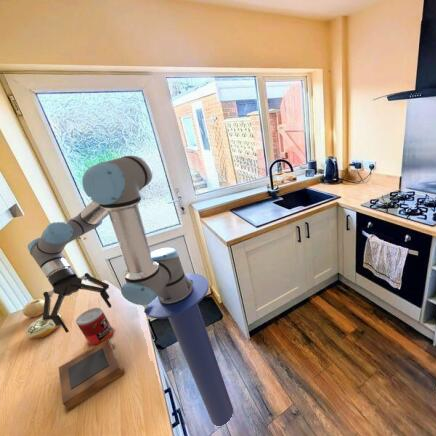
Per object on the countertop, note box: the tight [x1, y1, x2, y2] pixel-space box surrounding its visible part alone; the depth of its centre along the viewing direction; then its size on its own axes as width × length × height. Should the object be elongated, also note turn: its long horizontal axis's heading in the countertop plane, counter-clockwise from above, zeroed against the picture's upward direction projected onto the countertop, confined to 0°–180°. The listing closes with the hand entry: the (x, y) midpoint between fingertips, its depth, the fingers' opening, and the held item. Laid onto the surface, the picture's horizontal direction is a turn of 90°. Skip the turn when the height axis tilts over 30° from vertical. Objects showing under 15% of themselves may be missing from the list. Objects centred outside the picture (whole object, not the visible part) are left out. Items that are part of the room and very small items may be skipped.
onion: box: [22, 297, 45, 318], centre depth 108 cm, size 8×8×7 cm
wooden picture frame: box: [58, 338, 124, 411], centre depth 79 cm, size 14×16×4 cm
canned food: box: [75, 307, 114, 346], centre depth 91 cm, size 8×8×11 cm
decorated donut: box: [25, 313, 63, 339], centre depth 99 cm, size 10×11×4 cm
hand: (90, 318), depth 91 cm, fingers open, 13 cm apart
